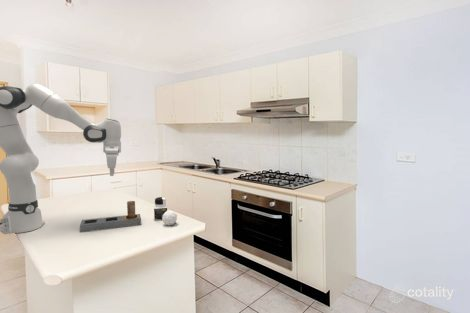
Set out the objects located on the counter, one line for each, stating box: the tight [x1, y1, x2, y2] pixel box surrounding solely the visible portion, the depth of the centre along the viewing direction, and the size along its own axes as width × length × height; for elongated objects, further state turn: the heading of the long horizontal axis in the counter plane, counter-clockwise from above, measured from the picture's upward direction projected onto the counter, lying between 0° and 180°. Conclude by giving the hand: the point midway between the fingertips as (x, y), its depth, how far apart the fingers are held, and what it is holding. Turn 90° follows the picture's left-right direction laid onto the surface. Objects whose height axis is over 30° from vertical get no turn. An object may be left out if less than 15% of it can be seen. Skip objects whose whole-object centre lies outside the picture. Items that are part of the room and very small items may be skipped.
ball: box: [161, 210, 178, 226], centre depth 153 cm, size 8×8×8 cm
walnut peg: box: [126, 200, 136, 219], centre depth 155 cm, size 4×4×12 cm
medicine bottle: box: [153, 196, 168, 221], centre depth 164 cm, size 7×7×12 cm
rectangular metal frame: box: [79, 213, 142, 233], centre depth 152 cm, size 29×9×4 cm, turn 112°
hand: (112, 174), depth 156 cm, fingers open, 8 cm apart
